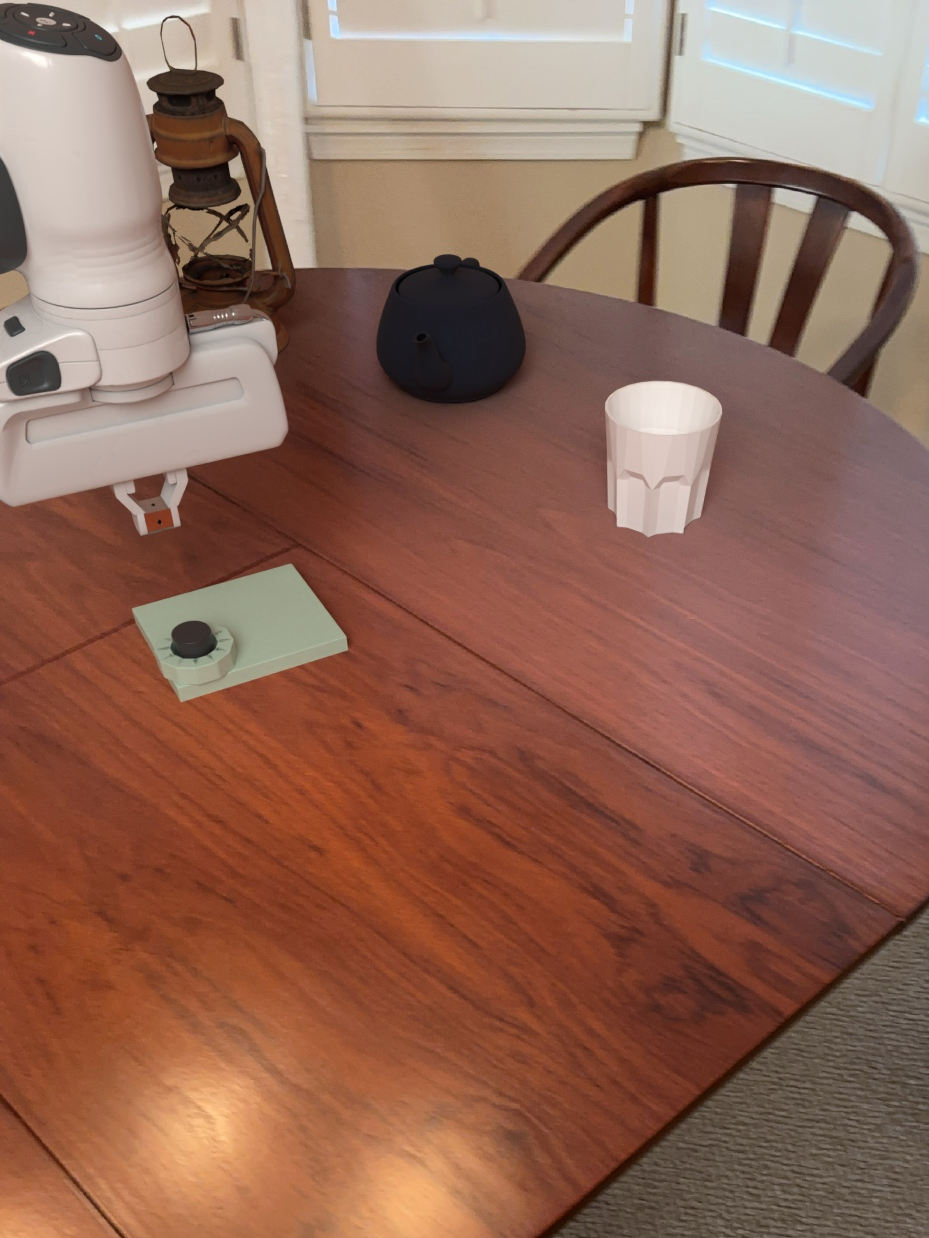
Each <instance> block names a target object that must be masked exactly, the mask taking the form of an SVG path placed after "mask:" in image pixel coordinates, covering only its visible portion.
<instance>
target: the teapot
mask: <svg viewBox="0 0 929 1238" xmlns="http://www.w3.org/2000/svg"><path fill="white" fill-rule="evenodd" d="M526 340H527V339H526V334H525V329H524V325H523V321H522V319H521V316H520V312H519V310H518V308H517V305H516V303H515V301H514V298H513V296H512V294H511V291H510V290H509V288H508V286H507V284H506V282H505V280H504V279H503V277H502V276H501V275H499V274H498V273H497V272H495V271H493V270H491V269H489V268H487V267H484V266H481V264H480V261H479V260H478V259H477V258H475V257H465V258H464V259H462V258H461V257H460V256H459V255H457V254H453V253H452V254H451V253H444V254H439V255H437V256H436V257H434V259H433V260H432V263H431V264H425V265H419V266H417V267H414V268H411V269H408V270H407V271H404V272H403V273H401V274H399V276H397V278H395V279H394V281H393V283H392V284H391V287H390V289H389V292H388V295H387V298H386V300H385V302H384V306H383V308H382V312H381V315H380V319H379V322H378V327H377V333H376V340H375V341H376V342H375V349H376V351H375V352H376V357H377V360H378V363H379V365H380V367H381V369H382V370H383V372H384V373H385V374H386V375H387V377H388V378H389V379H391V381H393V382H394V383H395V384H397V385H398V386H399V387H401V388H402V389H403V390H404V391H405V392H406V393H408V394H410V395H412V396H413V397H416V398H419V399H422V400H426V401H431V402H437V403H463V402H471V401H475V400H479V399H482V398H483V399H484V398H486V397H488V396H490V395H492V394H494V393H496V392H498V391H499V390H500V389H501V388H502V387H503V386H504V385H505V384H507V382H509V381H510V380H511V379H512V378H513V377H514V376H515V375H516V374H517V372H518V371H519V369H520V368H521V366H522V364H523V362H524V359H525V356H526V350H527V344H526V343H527V341H526Z"/></svg>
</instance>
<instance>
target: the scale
mask: <svg viewBox="0 0 929 1238" xmlns="http://www.w3.org/2000/svg"><path fill="white" fill-rule="evenodd" d="M131 612H132V615H133V619H134V622H135V624H136V626H137V627H138V629H139V631H140V633H141V635H142V637H143V638H144V640H145V642H146V643H147V646H148V647H149V649H150V651H151V653H152V654H153V656H154V657H155V660H156V663H157V668H158V669H159V671H160V673H161V675H162V676H163V678H165V679H167V681H168V682H169V684H170V686H171V688H172V689H173V692H174V693H175V695H176V697H177V699H178V701H179V702H180V703H183V702H186V701H190V700H193V699H196V698H199V697H202V696H205V695H206V696H207V695H209V694H211V693H215V692H218V691H222V690H225V689H228V688H232V687H234V686H238V685H241V684H244V683H247V682H250V681H254V680H257V679H260V678H263V677H266V676H267V677H268V676H270V675H272V674H273V675H274V674H276V673H280V672H283V671H286V670H289V669H292V668H296V667H298V666H302V665H305V664H309V663H312V662H314V661H317V660H321V659H324V658H327V657H328V658H329V657H330V656H334V655H337V654H340V653H343V652H347V651H349V646H348V645H349V644H348V637H347V635H346V633H344V631H343V630H342V628H341V627H340V626H339V624H338V623H337V622H336V620H335V619H334V618H333V617H332V615H331V614H330V612H329V611H328V610H327V609H326V607H325V606H324V605H323V603H322V602H321V600H320V598H318V596H317V595H316V594H315V592H314V591H313V590H312V588H311V587H310V586H309V584H308V583H307V582H306V581H305V579H304V578H303V577H302V575H301V574H300V573H299V571H298V570H297V568H296V567H295V566H294V564H293V563H287V564H284V565H279V566H277V567H273V568H270V569H266V570H263V571H259V572H256V573H252V574H247V575H245V576H241V577H238V578H234V579H230V580H227V581H224V582H220V583H216V584H213V585H209V586H206V587H202V588H198V589H195V590H192V591H188V592H185V593H181V594H177V595H174V596H171V597H167V598H164V599H160V600H157V601H153V602H150V603H146V604H143V605H138V606H136V607H132V608H131ZM186 621H202V622H204V623H206V624H208V625H209V627H210V628H211V632H212V637H213V641H214V649H213V651H212V652H211V653H210V654H208V655H207V656H203V657H200V658H197V659H183V658H181V657H179V656H178V655H177V654H176V652H175V649H174V645H173V641H172V637H171V633H172V630H173V629H174V628H175V627H176V626H177V625H179V624H181V623H183V622H186Z"/></svg>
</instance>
